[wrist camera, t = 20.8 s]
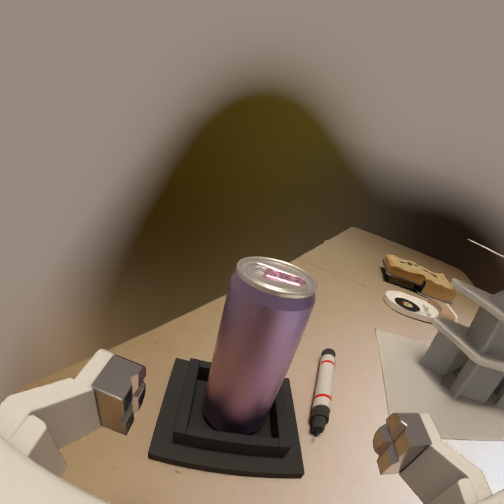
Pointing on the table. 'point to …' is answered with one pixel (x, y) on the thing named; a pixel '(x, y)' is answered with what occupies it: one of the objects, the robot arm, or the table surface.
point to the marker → (323, 392)
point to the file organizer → (452, 371)
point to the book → (419, 279)
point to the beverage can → (256, 341)
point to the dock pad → (223, 443)
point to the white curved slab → (419, 307)
